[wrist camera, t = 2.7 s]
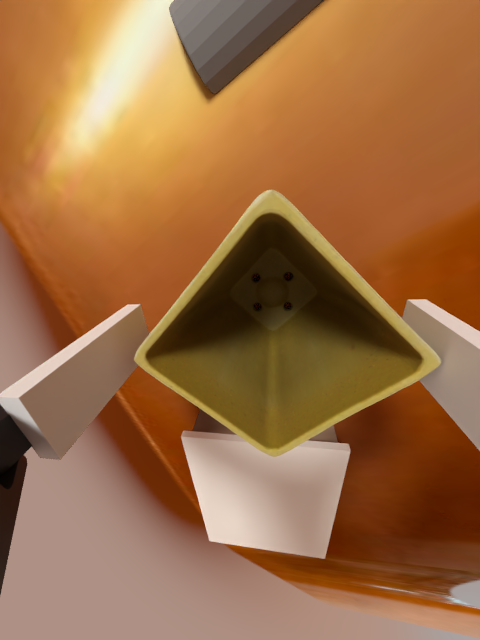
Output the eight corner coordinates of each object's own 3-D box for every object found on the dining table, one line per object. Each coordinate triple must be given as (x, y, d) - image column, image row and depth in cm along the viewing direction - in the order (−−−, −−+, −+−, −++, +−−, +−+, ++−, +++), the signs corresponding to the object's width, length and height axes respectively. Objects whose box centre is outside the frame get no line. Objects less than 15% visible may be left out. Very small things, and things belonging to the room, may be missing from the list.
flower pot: (272, 193, 14) (270, 178, 6) (362, 286, 16) (451, 368, 8) (193, 291, 18) (127, 361, 10) (273, 357, 20) (272, 461, 12)
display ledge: (337, 409, 21) (350, 450, 18) (318, 517, 30) (324, 558, 26) (195, 401, 23) (180, 436, 20) (216, 504, 32) (209, 541, 29)
